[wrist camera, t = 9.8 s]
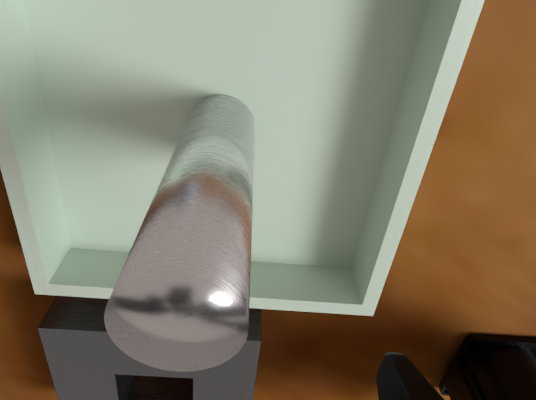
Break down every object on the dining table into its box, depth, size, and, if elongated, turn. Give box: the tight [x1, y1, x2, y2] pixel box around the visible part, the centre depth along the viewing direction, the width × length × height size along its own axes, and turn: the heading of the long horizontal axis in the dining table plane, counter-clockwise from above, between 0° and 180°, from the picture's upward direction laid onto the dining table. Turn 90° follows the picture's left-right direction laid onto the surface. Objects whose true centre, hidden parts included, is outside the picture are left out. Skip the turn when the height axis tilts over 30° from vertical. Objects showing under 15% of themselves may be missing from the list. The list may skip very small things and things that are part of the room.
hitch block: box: [38, 296, 261, 400], centre depth 27 cm, size 12×12×4 cm
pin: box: [104, 94, 255, 372], centre depth 14 cm, size 3×3×12 cm
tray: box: [0, 0, 485, 316], centre depth 18 cm, size 18×18×4 cm
